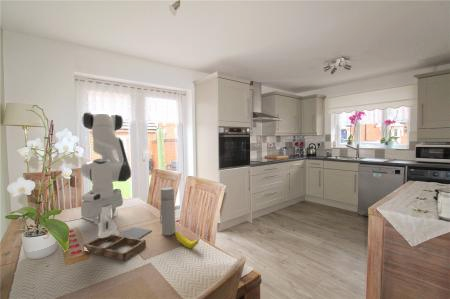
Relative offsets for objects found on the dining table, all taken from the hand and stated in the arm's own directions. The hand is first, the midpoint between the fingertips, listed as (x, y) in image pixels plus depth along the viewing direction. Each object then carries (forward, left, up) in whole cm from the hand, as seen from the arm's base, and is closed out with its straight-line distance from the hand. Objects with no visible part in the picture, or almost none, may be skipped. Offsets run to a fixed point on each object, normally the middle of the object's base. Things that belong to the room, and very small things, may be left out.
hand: (104, 220), depth 103 cm
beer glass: (0, 0, -8) cm, 8 cm away
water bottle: (+20, +22, -13) cm, 33 cm away
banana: (+38, +13, -13) cm, 42 cm away
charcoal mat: (+3, +15, -13) cm, 20 cm away
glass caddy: (+6, 0, -13) cm, 14 cm away
